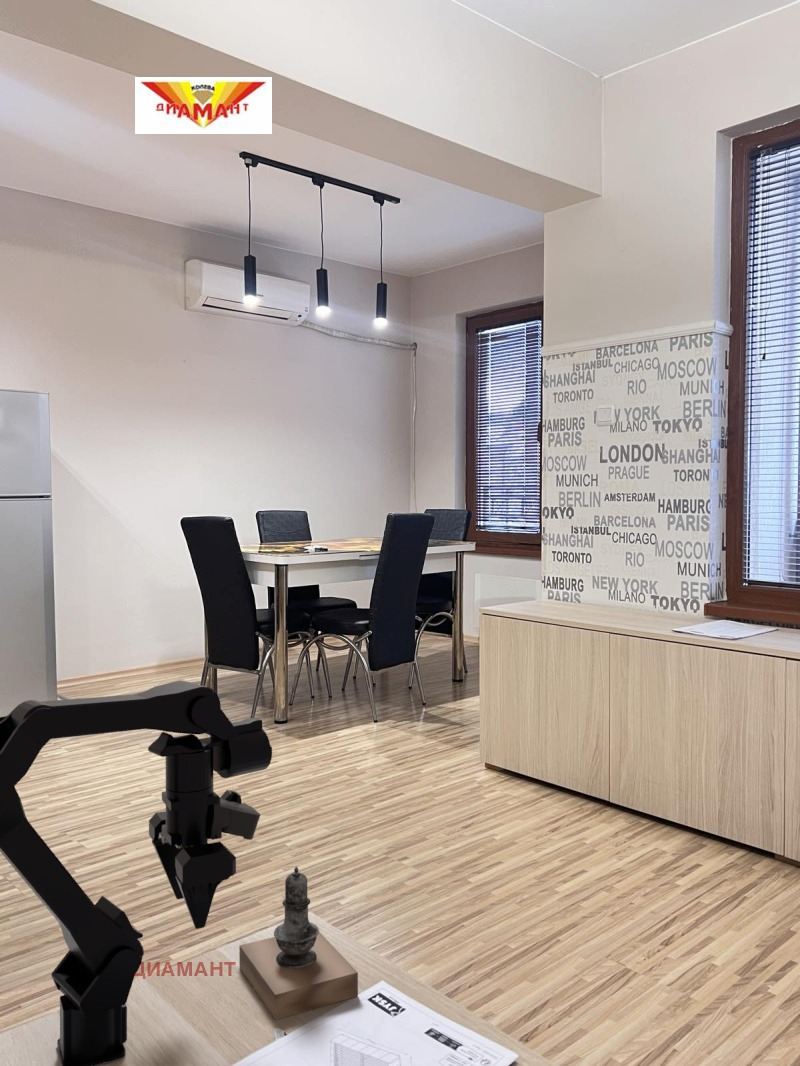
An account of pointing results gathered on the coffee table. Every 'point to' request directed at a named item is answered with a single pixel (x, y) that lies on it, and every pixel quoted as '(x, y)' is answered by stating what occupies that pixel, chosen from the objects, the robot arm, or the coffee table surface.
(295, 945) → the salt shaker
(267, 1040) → the coffee table surface
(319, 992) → the block
